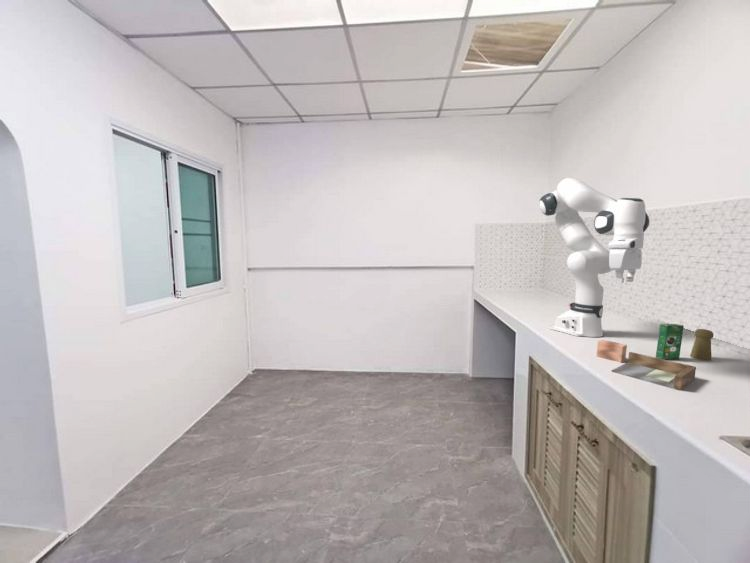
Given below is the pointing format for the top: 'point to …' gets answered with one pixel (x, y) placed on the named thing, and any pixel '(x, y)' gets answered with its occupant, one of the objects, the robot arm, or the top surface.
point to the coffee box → (669, 341)
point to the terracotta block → (611, 350)
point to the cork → (702, 345)
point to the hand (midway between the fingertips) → (624, 282)
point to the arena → (657, 371)
